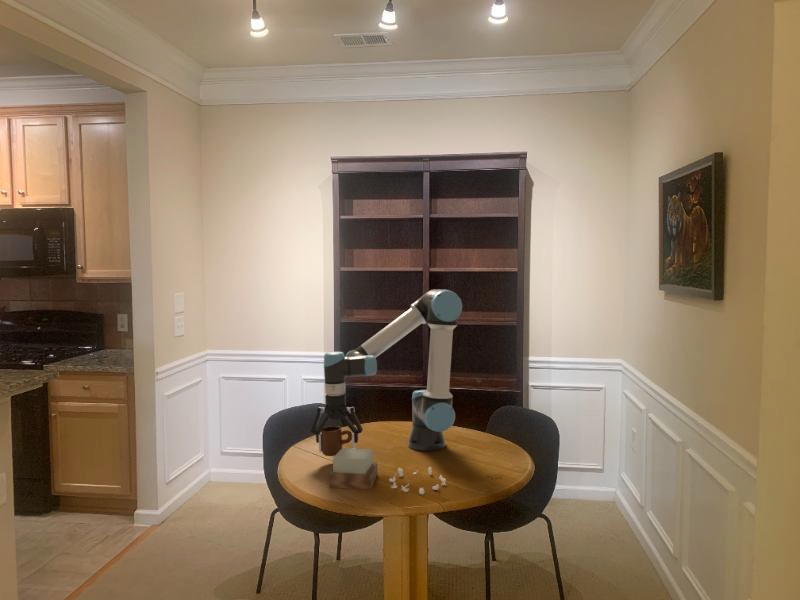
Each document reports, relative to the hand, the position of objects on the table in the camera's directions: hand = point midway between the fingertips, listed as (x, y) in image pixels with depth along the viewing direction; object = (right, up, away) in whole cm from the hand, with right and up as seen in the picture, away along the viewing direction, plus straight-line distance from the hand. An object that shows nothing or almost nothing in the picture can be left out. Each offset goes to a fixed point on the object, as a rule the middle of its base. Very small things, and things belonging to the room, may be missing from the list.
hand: (337, 451), depth 216 cm
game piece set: (+29, -6, -19) cm, 36 cm away
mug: (0, -1, 0) cm, 1 cm away
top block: (+7, -1, -17) cm, 18 cm away
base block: (+7, -6, -17) cm, 19 cm away
